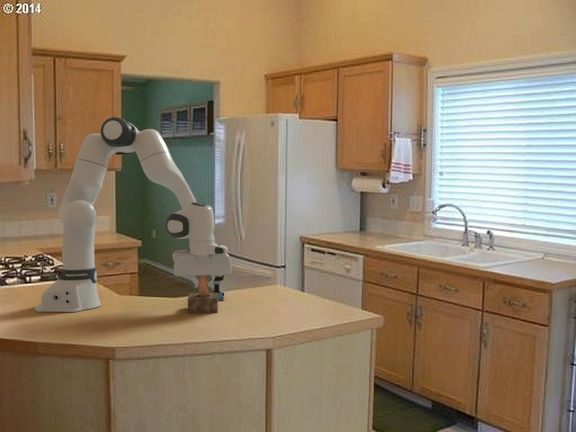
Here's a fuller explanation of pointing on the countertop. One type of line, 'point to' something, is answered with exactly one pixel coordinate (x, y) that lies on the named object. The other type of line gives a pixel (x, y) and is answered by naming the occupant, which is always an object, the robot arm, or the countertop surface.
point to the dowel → (203, 286)
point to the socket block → (203, 303)
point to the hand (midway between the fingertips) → (203, 287)
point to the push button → (218, 286)
